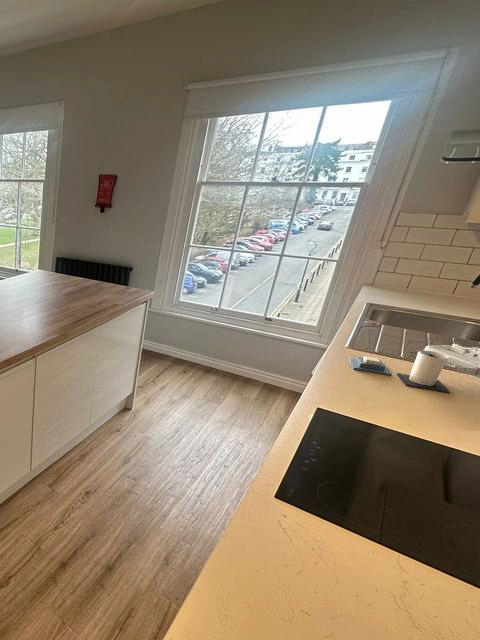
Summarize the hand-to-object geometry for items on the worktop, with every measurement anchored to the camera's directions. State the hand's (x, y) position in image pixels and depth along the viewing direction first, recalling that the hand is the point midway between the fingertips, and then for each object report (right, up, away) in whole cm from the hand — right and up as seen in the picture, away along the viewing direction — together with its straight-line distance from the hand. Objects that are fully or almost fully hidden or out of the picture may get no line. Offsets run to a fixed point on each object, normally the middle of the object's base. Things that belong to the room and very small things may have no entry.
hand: (439, 362), depth 131 cm
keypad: (-9, -3, +14) cm, 17 cm away
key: (-9, -1, +13) cm, 16 cm away
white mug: (-3, -7, +3) cm, 8 cm away
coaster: (-3, -7, +3) cm, 8 cm away
